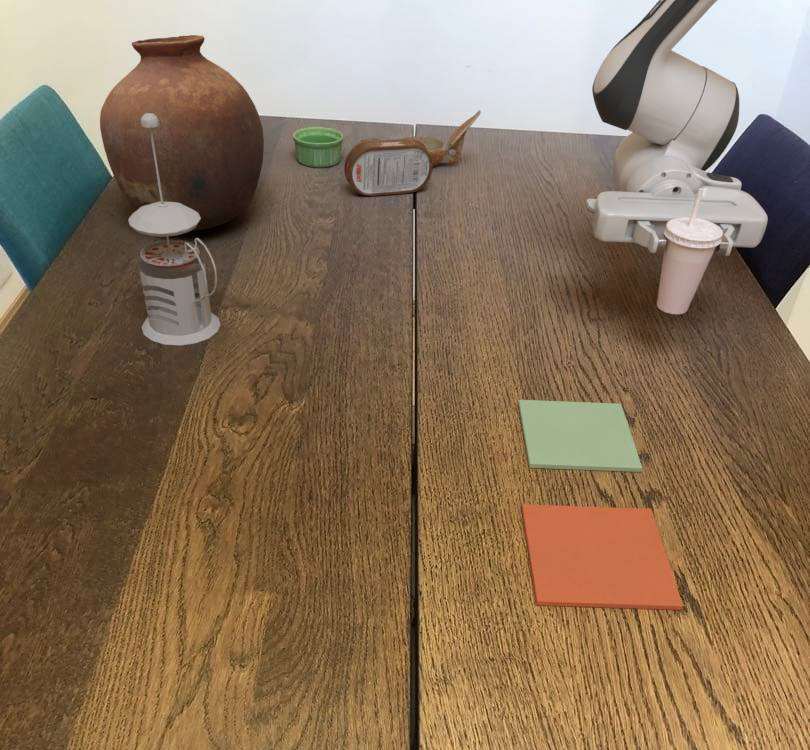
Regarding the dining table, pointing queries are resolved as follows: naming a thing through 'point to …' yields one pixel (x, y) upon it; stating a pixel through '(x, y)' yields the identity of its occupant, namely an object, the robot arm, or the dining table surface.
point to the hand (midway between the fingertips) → (692, 248)
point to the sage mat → (577, 436)
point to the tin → (388, 167)
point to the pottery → (183, 132)
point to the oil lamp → (441, 149)
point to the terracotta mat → (598, 558)
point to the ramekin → (318, 146)
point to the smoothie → (685, 259)
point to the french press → (172, 298)
